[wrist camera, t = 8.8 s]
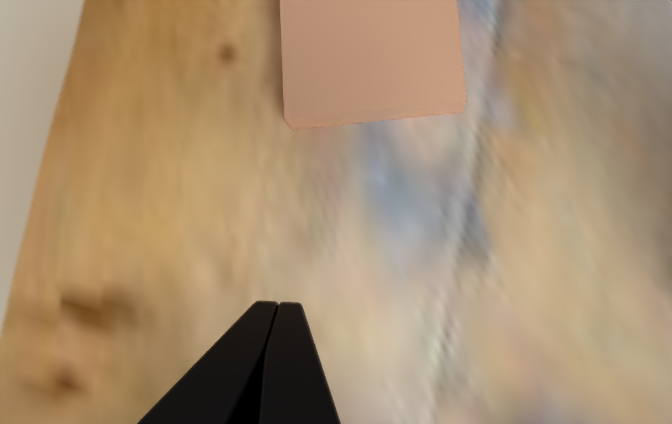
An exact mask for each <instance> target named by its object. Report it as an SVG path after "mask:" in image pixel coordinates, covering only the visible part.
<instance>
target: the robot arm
mask: <svg viewBox="0 0 672 424" xmlns="http://www.w3.org/2000/svg"><path fill="white" fill-rule="evenodd" d="M137 424H341V423H340V419H339V416H338V413H337V410H336V407H335V404H334V401H333V398H332V395H331V392H330V389H329V386H328V383H327V380H326V377H325V374H324V371H323V368H322V364H321V361H320V358H319V355H318V352H317V349H316V346H315V343H314V340H313V337H312V334H311V331H310V328H309V325H308V322H307V319H306V316H305V313H304V309H303V307H302V305H301V304H300V303H297V302H281V303H280V304H278V303H277V302H275V301H256V302H255V303H254V304H253V305H252V306H251V307H250V308H249V309H248V310H247V311H246V312H245V313H244V314H243V315H242V316H241V317H240V318H239V319H238V320H237V321H236V322H235V323H234V324H233V325H232V326H231V327H230V328H229V329H228V330H227V331H226V332H225V334H224V335H223V336H222V337H221V338H220V339H219V340H218V341H217V342H216V343H215V344H214V345H213V346H212V347H211V348H210V349H209V350H208V351H207V352H206V353H205V354H204V355H203V356H202V357H201V358H200V359H199V360H198V361H197V362H196V363H195V364H194V365H193V366H192V367H191V368H190V370H189V371H188V372H187V373H186V374H185V375H184V376H183V377H182V378H181V379H180V380H179V381H178V382H177V383H176V384H175V385H174V386H173V387H172V388H171V389H170V390H169V391H168V392H167V393H166V394H165V395H164V396H163V397H162V398H161V399H160V400H159V401H158V402H157V403H156V404H155V406H154V407H153V408H152V409H151V410H150V411H149V412H148V413H147V414H146V415H145V416H144V417H143V418H142V419H141V420H140V421H139V422H138V423H137Z"/></svg>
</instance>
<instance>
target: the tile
mask: <svg viewBox="0 0 672 424" xmlns="http://www.w3.org/2000/svg"><path fill="white" fill-rule="evenodd" d="M280 21H281V48H282V74H283V101H284V120H285V121H286V122H287V124H288V125H289V126H290V127H291V129H292V130H295V129H305V128H315V127H325V126H334V125H344V124H354V123H364V122H373V121H383V120H393V119H403V118H413V117H422V116H432V115H442V114H452V113H461V112H462V111H463V108H464V106H465V103H466V100H467V99H466V89H465V79H464V69H463V59H462V48H461V38H460V28H459V18H458V7H457V0H280Z"/></svg>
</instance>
